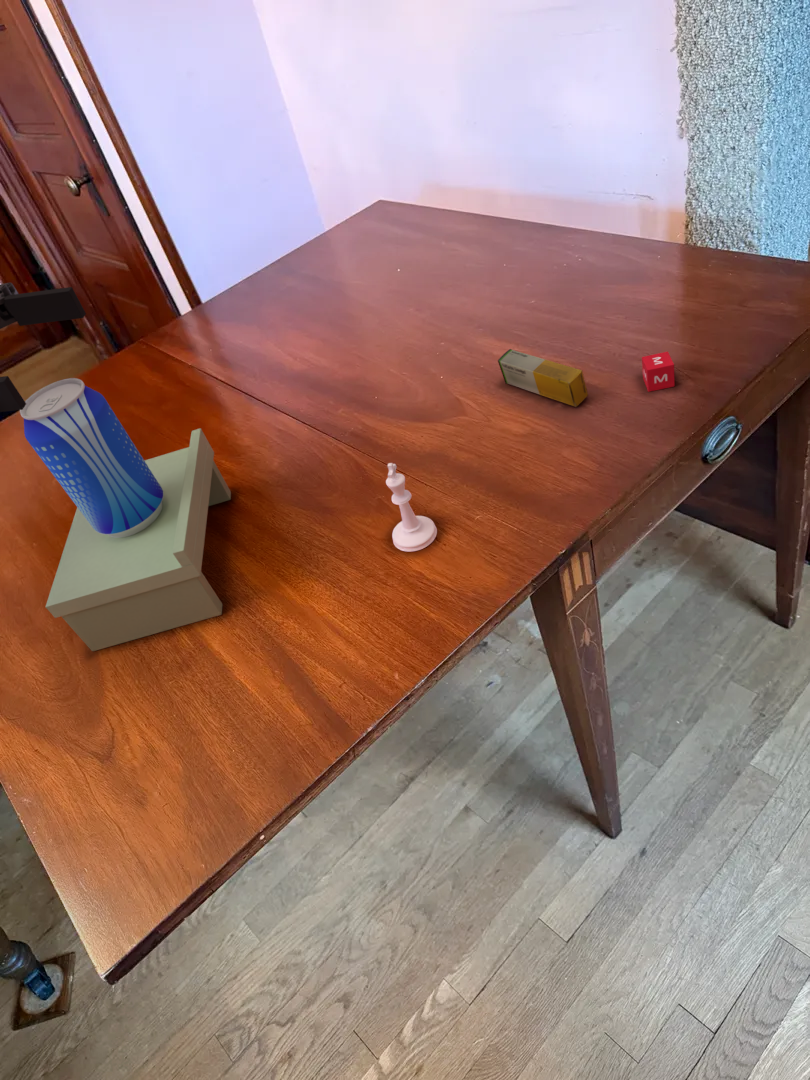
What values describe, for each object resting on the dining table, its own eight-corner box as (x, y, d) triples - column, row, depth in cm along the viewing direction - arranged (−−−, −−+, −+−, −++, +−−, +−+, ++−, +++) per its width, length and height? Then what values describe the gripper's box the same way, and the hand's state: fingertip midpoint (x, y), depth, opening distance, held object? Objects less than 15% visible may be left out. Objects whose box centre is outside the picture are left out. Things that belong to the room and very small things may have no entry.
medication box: (503, 384, 97) (495, 359, 95) (517, 372, 98) (509, 347, 95) (575, 408, 89) (569, 382, 86) (590, 395, 90) (584, 368, 87)
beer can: (86, 524, 84) (-1, 409, 74) (148, 482, 87) (73, 365, 77) (116, 553, 79) (26, 433, 68) (181, 507, 82) (105, 384, 71)
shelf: (87, 654, 81) (33, 594, 74) (119, 524, 97) (77, 465, 91) (226, 614, 80) (183, 549, 73) (234, 490, 96) (200, 427, 89)
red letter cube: (674, 386, 88) (674, 364, 86) (648, 391, 88) (647, 370, 86) (668, 373, 90) (667, 351, 88) (642, 378, 90) (641, 356, 88)
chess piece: (388, 552, 80) (360, 482, 73) (398, 520, 83) (373, 450, 77) (432, 551, 78) (407, 479, 72) (440, 518, 82) (418, 447, 75)
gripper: (-71, 330, 78) (116, 306, 74) (-221, 497, 61) (11, 476, 58) (-119, 262, 73) (80, 233, 69) (-299, 425, 56) (-48, 398, 52)
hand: (49, 344), depth 63 cm, fingers open, 13 cm apart
